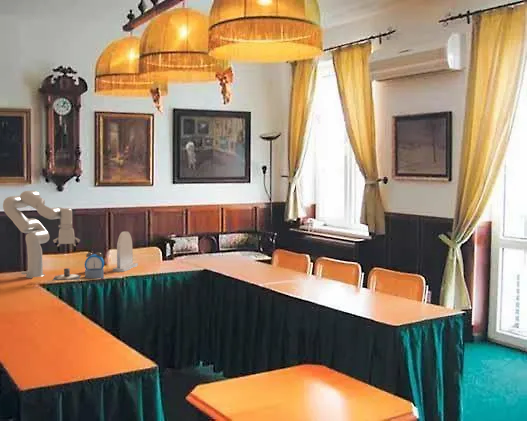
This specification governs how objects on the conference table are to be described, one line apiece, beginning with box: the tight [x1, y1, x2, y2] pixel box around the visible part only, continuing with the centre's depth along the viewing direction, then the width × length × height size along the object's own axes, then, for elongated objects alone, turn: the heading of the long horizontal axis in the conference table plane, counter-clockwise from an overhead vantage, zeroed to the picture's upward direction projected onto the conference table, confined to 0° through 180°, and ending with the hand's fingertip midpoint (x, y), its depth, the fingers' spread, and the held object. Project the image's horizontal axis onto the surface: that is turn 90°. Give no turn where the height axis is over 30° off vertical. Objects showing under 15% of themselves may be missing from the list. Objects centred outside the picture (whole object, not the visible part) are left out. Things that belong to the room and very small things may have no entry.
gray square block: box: [84, 268, 105, 280], centre depth 439 cm, size 12×12×6 cm
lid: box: [54, 268, 79, 281], centre depth 435 cm, size 15×15×6 cm
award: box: [112, 231, 139, 273], centre depth 478 cm, size 28×9×28 cm, turn 170°
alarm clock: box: [84, 251, 105, 270], centre depth 458 cm, size 13×6×15 cm, turn 99°
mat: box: [52, 274, 82, 281], centre depth 436 cm, size 17×17×1 cm
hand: (66, 252), depth 435 cm, fingers open, 9 cm apart
